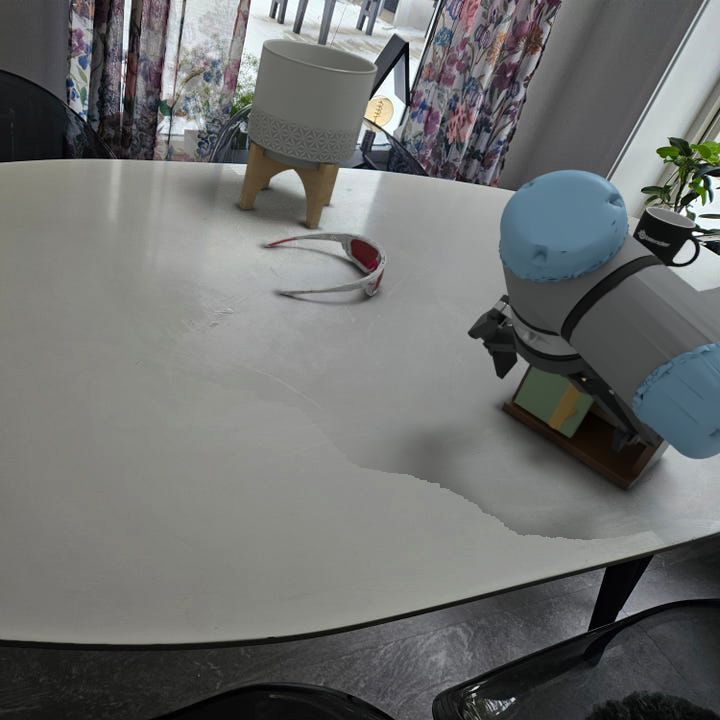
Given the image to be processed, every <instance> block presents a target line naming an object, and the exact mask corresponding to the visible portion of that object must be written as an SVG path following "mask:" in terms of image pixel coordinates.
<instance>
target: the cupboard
mask: <svg viewBox="0 0 720 720" xmlns="http://www.w3.org/2000/svg"><path fill="white" fill-rule="evenodd" d="M528 364H529V363H528ZM531 368H532V366H531V365H530V364H529V365H528V366H527V368H526V370H525V372H524V374H523V376H522V378H521V379H520V382H519V384H518V385H517V388H516V390H515V391H514V394H513V396H512V397H511V398H510V399H507V400H506V401H505V402H504V403H503V405H502V407H501V409H502V410H504V411H505V412H506V413H508V414H510V415H511V416H513V417H514V418H516V419H517V420H519V421H520V422H522V423H523V424H525V425H526V426H528V427H529V428H531V429H532V430H534V431H536V432H537V433H538V434H540V435H541V436H543V437H544V438H546V439H548V440H549V441H551V442H552V443H554V444H555V445H556V446H558V447H560V448H561V449H563V450H565V451H566V452H567V453H568V454H571V456H573V457H575V458H576V459H578V461H579V460H580V461H581V462H582V463H584V464H585V465H587V466H588V467H590V468H592V469H593V470H595V471H596V472H597V473H599V474H600V475H602V476H604V477H605V478H607V479H608V480H609V481H611V482H613V483H614V484H615V485H617V486H619V487H621V489H623V490H625V491H628V490H629V489H630V488H631V487H632V486H633V485H634V484H635V483H636V482H637V481H639V479H640V478H641V477H642V476H643V475H645V473H647V472H648V471H649V470H650V469H651V468H652V467H653V466H654V465H655V464H656V463H657V462H658V461H659V460H661V458H662V456H663V455H664V454H665V452H666V451H667V450H668V448H669V447H670V446H671V445H670V444H669V443H668V442H667V441H666V440H665V439H664V438H663V440H662V441H661V442H660V443H659V444H658V446H657V447H656V448H652V447H650V446H648V445H646V443H645V442H644V441H643V440H642V438H641V439H640V440H639V441H638V443H637V444H633V443H631V445H629V444H625V445H624V446H623V447H622V449H621V450H620V451H619V452H618V453H617V452H616V451H614V450H612V449H611V445H612V440H613V435H614V430H615V428H616V427H617V426H618V425H617V424H616V423H615V422H614V421H613V420H612V418H611V417H610V416H609V415H608V414H607V413H606V412H605V411H604V410H603V409H602V408H601V407H600V406H599V404H598V403H597V402H596V401H595V400H594V402H593V403H592V405H591V407H590V408H589V410H588V412H587V413H586V415H585V417H584V418H583V420H582V422H581V423H580V425H579V427H578V428H577V430H576V432H575V433H574V435H573V436H572V437H571V438H569V437H567V436H566V435H564V434H563V433H561V432H560V431H558V430H556V429H553V428H552V427H550V426H549V424H547V423H546V422H544V421H543V420H541V419H539V418H538V417H536V416H535V415H533V414H532V413H530V412H529V411H527V410H526V409H524V408H522V407H521V406H519V405H518V404H516V403H515V402H514V401H515V399H516V397H517V395H518V393H519V391H520V389H521V387H522V385H523V384H524V382H525V380H526V378H527V376H528V374H529V372H530V370H531Z"/></svg>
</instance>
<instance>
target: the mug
mask: <svg viewBox="0 0 720 720" xmlns="http://www.w3.org/2000/svg"><path fill="white" fill-rule="evenodd" d="M696 225H697V224H696V222H694V221H693V220H692V219H691V218H689V217H688V216H685V215H683V214H681V213H679V212H676V211H673V210H671V209H667V208H663V207H658V206H647V207H646V208H645V209H644V211H643V213H642V214H641V217H640V218H639V220H638V222H637V225H636V227H635V229H634V232H633V234H632V235H631V236H632V237H633V238H635V239H636V240H637V241H638V242H639V243H641V244H642V245H643V246H644V247H646V248H647V249H648V250H649V251H650V252H652V253H653V254H654V255H655V256H656V257H657V258H658V259H660V260H661V261H662V262H663V263H664V264H665V265H666V266H667V267H668V268H669V267H671V268H685V267H688V266H691V265H692V264H693V263H694V262H696V260H697V259H698V257H699V256H700V253H701V245H700V242H699V240H698V239H697V237H695V235H694V234H693V233H694V231H695V228H696ZM687 241H690V242H692V243H693V245H694V254H693V256H692V257H691V259H689V260H688V261H685V262H682V263H681V262H680V263H679V262H678V263H676V262H674V259H675V258H676V256H677V255H678V254H679V252H680V251H681V249H682V248H683V247H684V245H685V244H686V243H687Z"/></svg>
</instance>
